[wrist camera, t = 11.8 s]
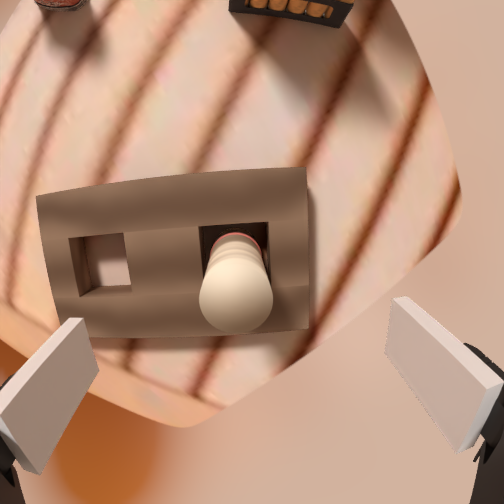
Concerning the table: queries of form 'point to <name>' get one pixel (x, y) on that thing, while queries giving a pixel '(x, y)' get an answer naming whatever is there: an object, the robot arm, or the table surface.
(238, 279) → the birch dowel
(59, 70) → the table surface
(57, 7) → the lighter
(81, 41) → the table surface
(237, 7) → the ammunition clip
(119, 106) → the table surface
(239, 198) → the walnut board
